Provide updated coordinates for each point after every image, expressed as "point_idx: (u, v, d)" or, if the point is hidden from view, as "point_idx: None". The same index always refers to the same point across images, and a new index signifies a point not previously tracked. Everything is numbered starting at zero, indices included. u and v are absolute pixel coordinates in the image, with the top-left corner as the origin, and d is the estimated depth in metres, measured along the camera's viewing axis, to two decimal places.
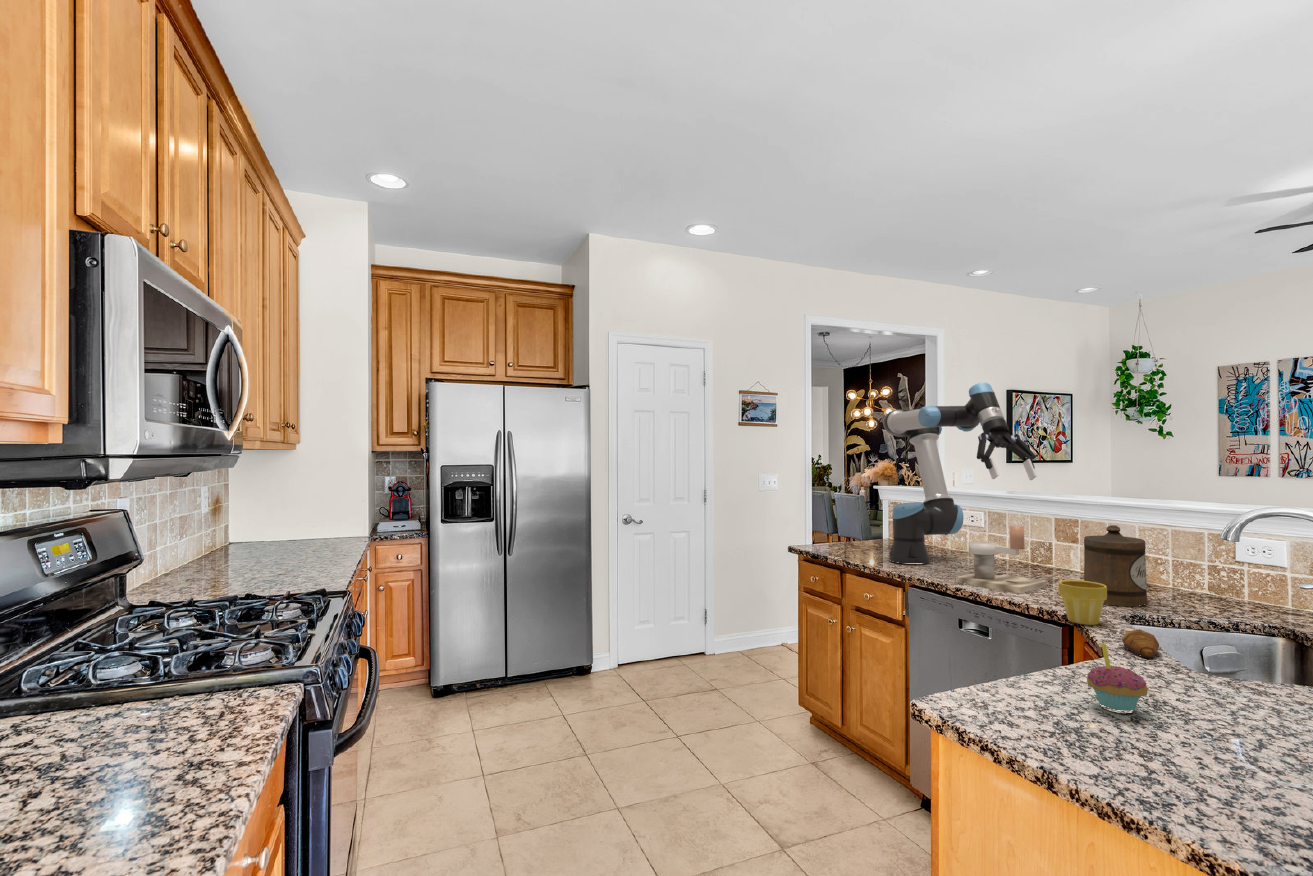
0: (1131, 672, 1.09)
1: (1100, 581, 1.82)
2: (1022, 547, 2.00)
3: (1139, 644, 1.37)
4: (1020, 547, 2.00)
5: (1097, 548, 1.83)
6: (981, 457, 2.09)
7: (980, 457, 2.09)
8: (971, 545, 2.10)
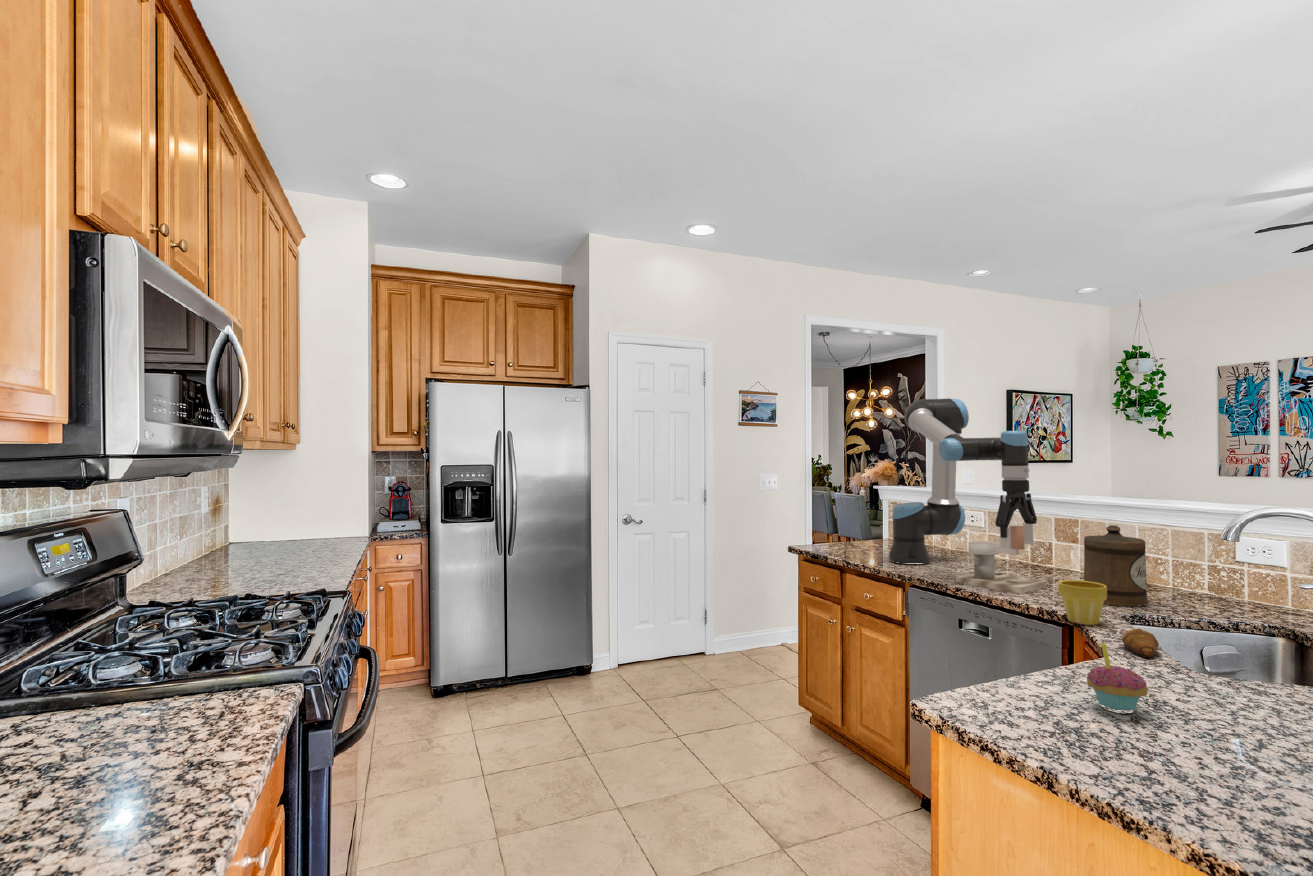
0: (1131, 672, 1.09)
1: (1100, 581, 1.82)
2: (1022, 547, 2.00)
3: (1139, 643, 1.37)
4: (1020, 547, 2.00)
5: (1097, 548, 1.83)
6: (1000, 525, 1.97)
7: (999, 525, 1.97)
8: (971, 545, 2.10)
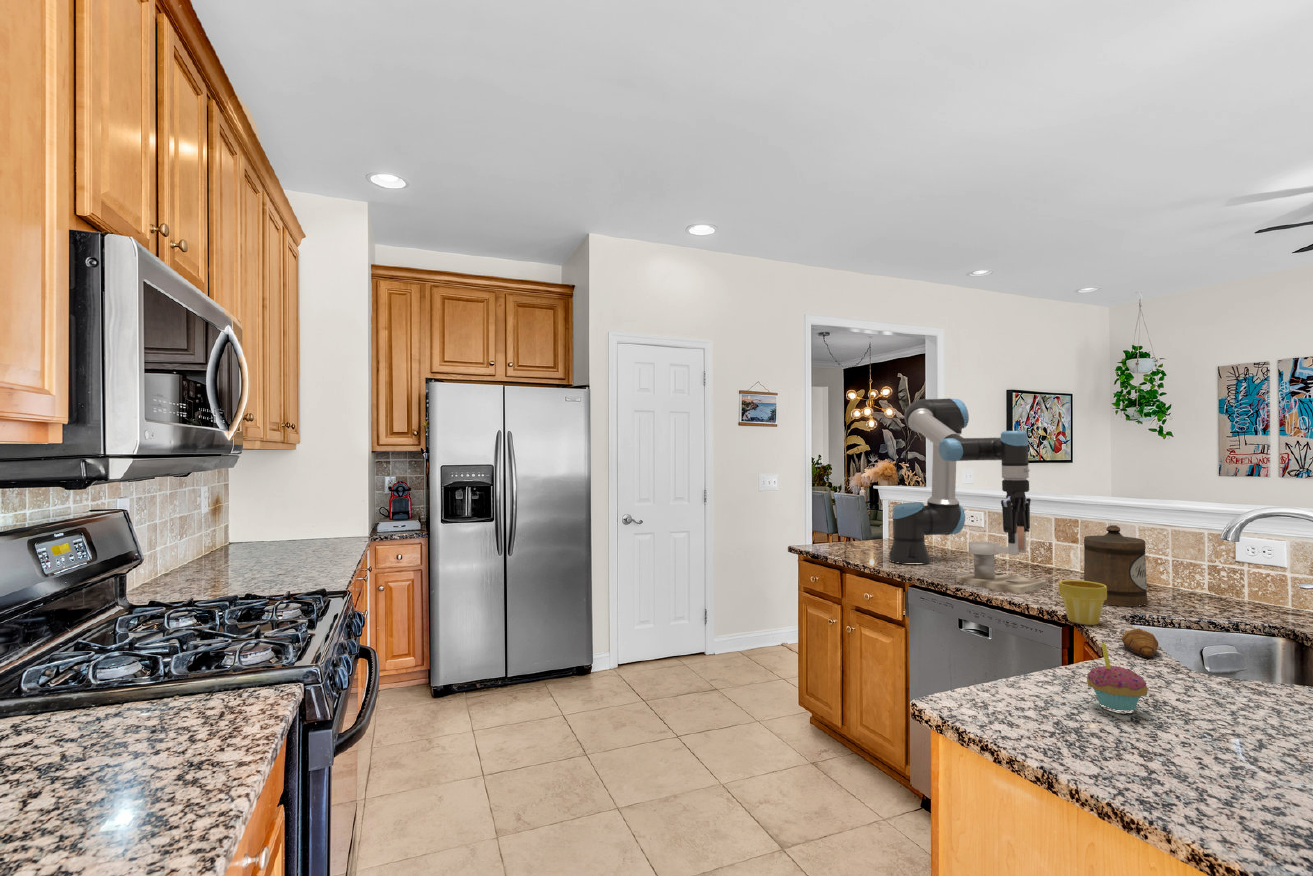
0: (1131, 672, 1.09)
1: (1100, 581, 1.82)
2: (1022, 547, 2.00)
3: (1139, 643, 1.37)
4: (1020, 547, 2.00)
5: (1097, 548, 1.83)
6: None
7: (1007, 531, 1.99)
8: (971, 545, 2.10)
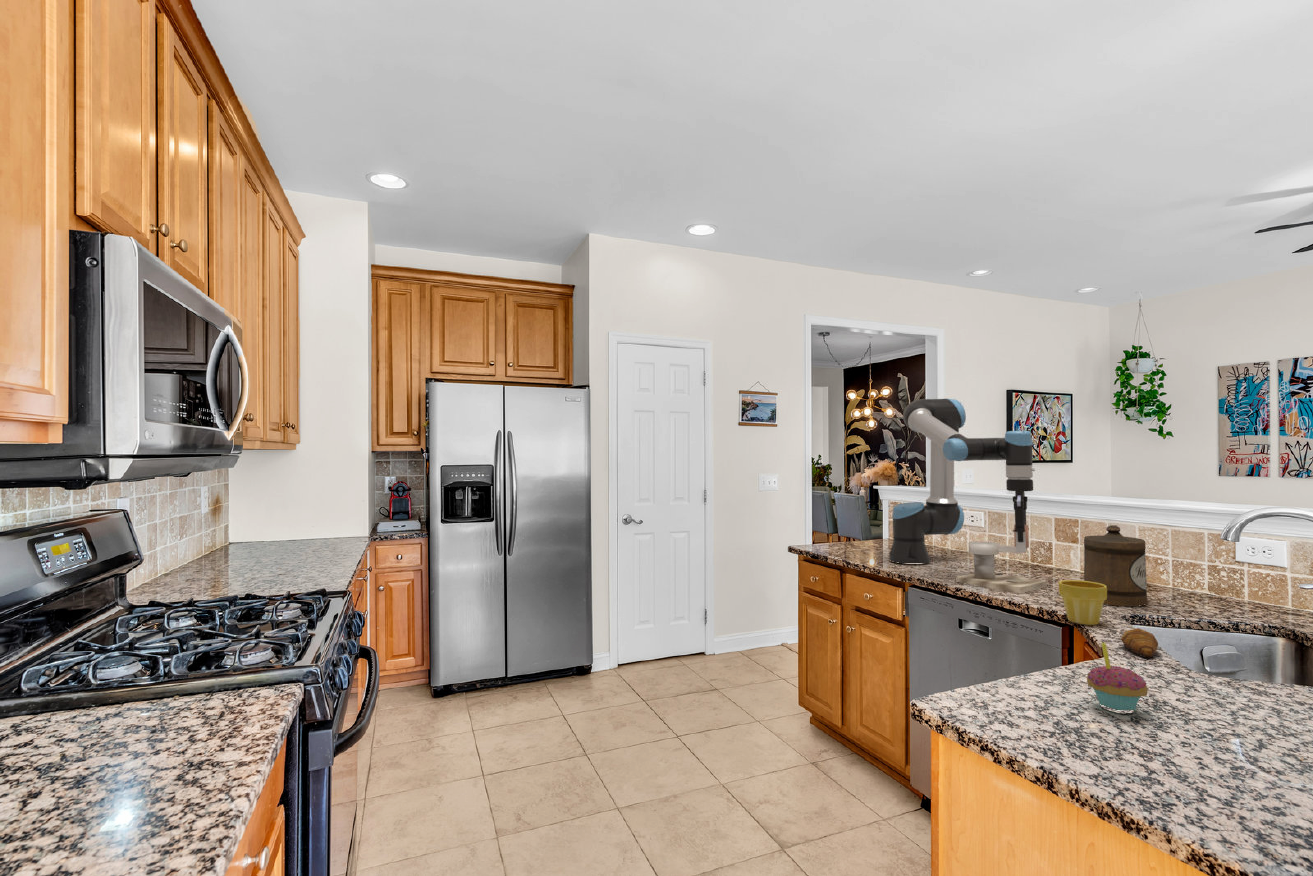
0: (1131, 672, 1.09)
1: (1100, 581, 1.82)
2: (1028, 545, 2.03)
3: (1138, 643, 1.37)
4: (1026, 545, 2.03)
5: (1097, 548, 1.83)
6: None
7: (1019, 530, 2.00)
8: (975, 546, 2.09)
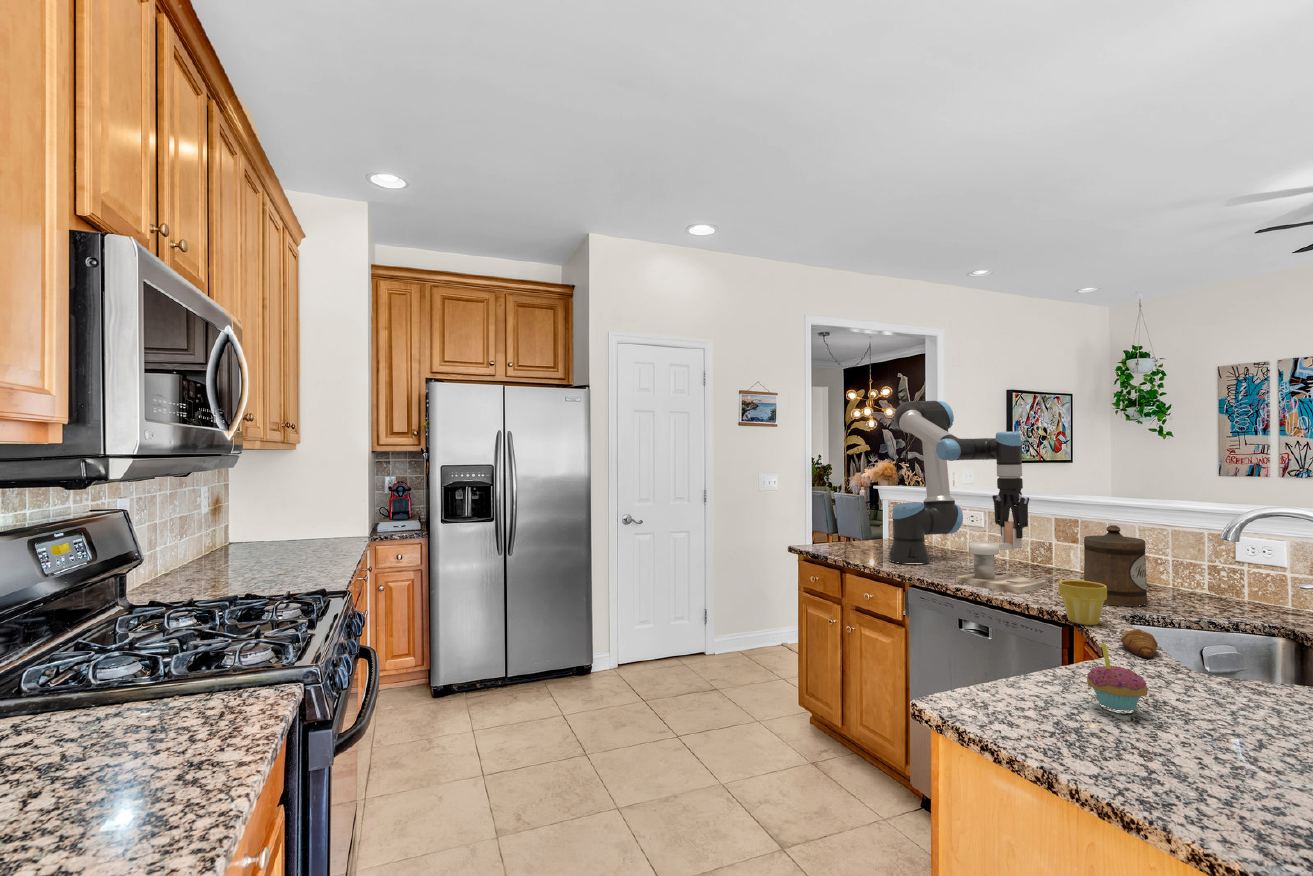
0: (1131, 672, 1.09)
1: (1100, 581, 1.82)
2: None
3: (1138, 643, 1.37)
4: None
5: (1097, 548, 1.83)
6: None
7: (1023, 527, 2.09)
8: (988, 546, 2.07)
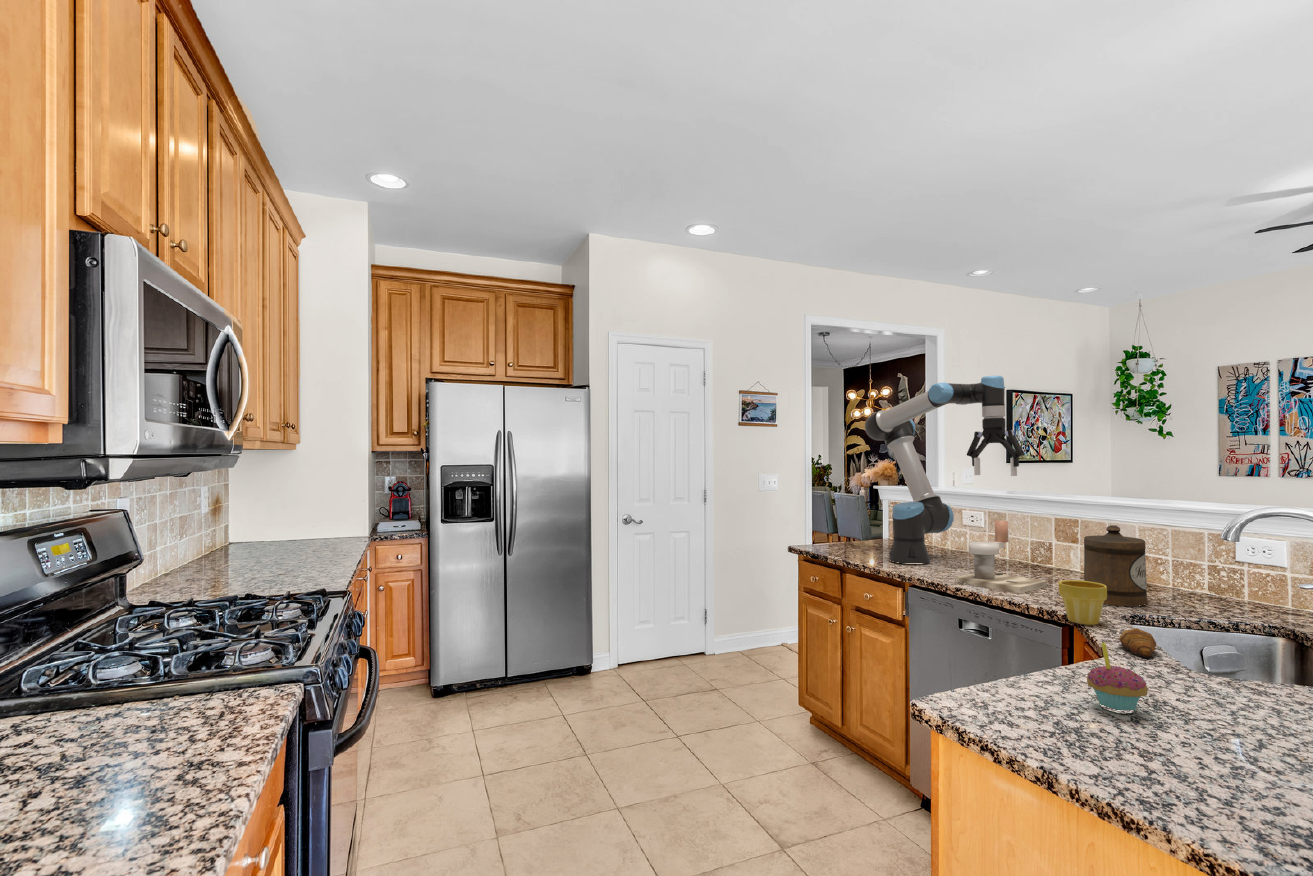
0: (1131, 672, 1.09)
1: (1100, 581, 1.82)
2: None
3: (1137, 643, 1.37)
4: None
5: (1097, 548, 1.83)
6: (1021, 455, 2.26)
7: (1021, 455, 2.26)
8: (992, 546, 2.07)
